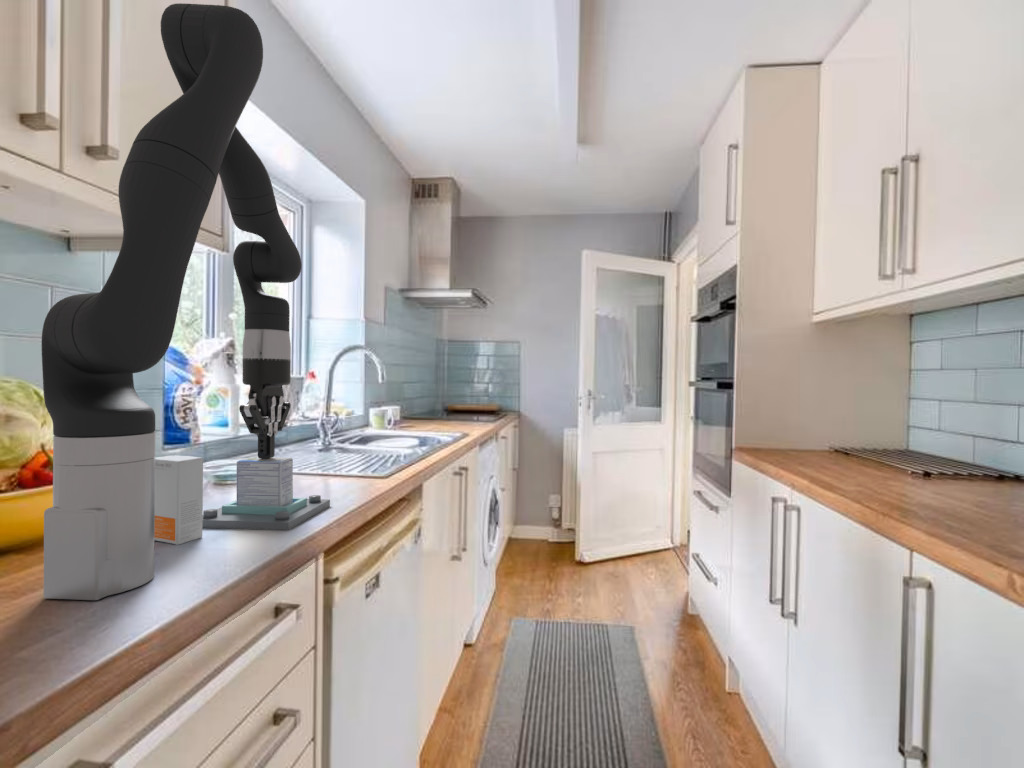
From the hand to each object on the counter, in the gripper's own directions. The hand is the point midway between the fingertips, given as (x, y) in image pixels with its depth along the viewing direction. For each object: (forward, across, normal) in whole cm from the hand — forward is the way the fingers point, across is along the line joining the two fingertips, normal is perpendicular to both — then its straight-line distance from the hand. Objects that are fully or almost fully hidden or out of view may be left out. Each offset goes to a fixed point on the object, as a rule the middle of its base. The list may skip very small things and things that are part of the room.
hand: (266, 457), depth 91 cm
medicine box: (+9, 0, 0) cm, 9 cm away
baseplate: (+10, 0, 0) cm, 10 cm away
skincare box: (+10, -14, +6) cm, 18 cm away
